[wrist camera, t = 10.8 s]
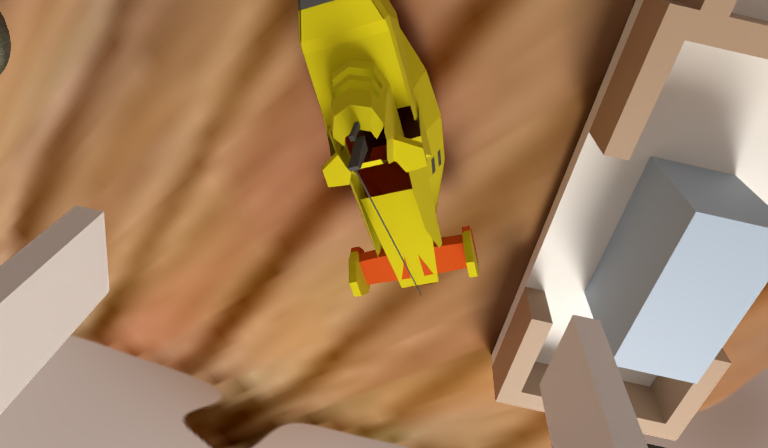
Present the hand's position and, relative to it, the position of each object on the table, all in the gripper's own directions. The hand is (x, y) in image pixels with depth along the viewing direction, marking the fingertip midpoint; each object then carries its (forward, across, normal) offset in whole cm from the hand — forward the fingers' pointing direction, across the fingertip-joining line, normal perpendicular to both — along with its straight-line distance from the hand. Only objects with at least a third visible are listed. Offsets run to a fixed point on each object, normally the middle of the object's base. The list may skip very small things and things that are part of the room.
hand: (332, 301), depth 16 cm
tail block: (+15, +16, -3) cm, 22 cm away
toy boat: (+17, 0, 0) cm, 17 cm away
